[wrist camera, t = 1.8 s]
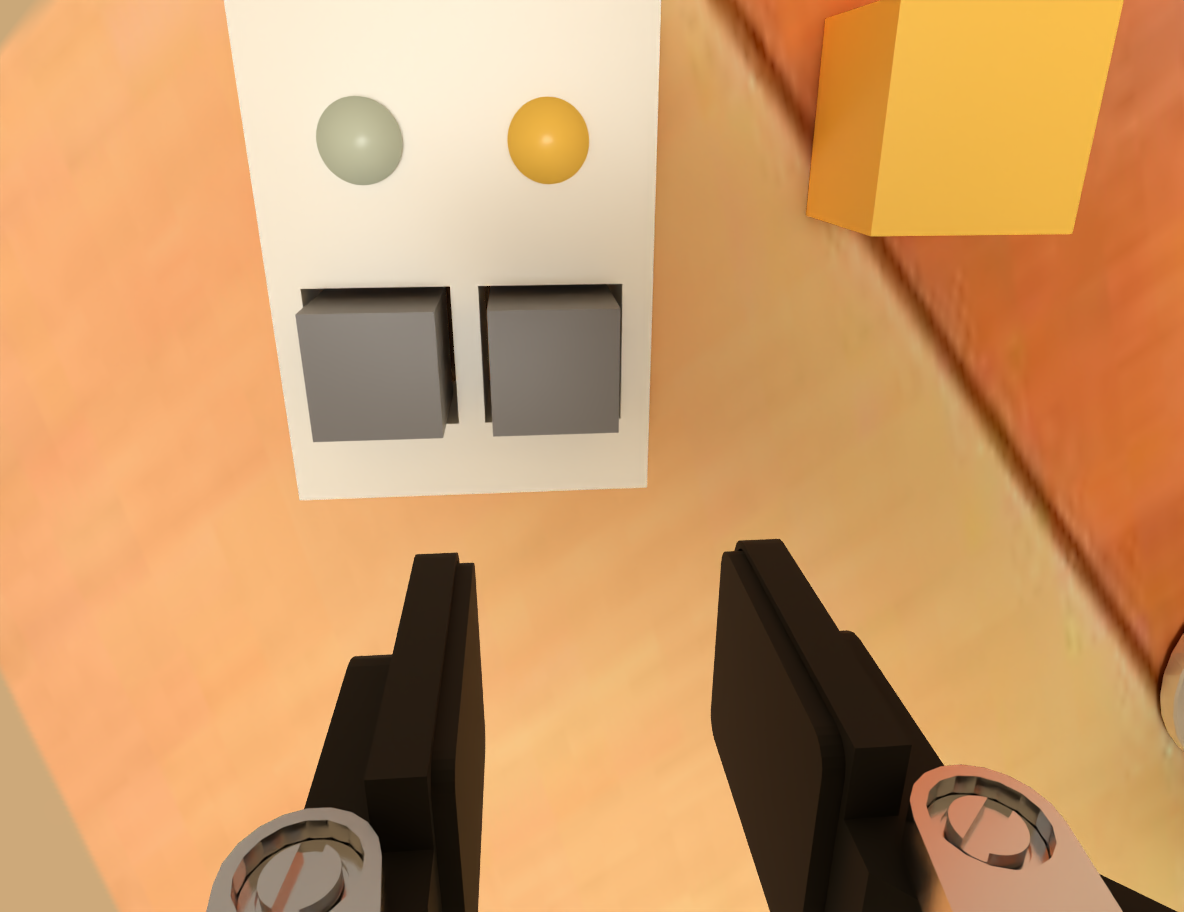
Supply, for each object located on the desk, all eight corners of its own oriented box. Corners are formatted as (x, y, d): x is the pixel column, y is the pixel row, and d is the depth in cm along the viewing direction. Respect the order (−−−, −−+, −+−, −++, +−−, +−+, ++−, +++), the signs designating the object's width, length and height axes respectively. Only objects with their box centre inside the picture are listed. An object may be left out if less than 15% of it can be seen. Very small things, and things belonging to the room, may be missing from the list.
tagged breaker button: (605, 281, 26) (620, 308, 22) (604, 390, 27) (619, 432, 23) (490, 283, 25) (486, 311, 22) (495, 393, 27) (492, 437, 23)
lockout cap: (1006, 20, 26) (1124, -4, 21) (972, 213, 28) (1072, 233, 23) (825, 18, 26) (901, -7, 21) (806, 215, 28) (870, 236, 23)
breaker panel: (637, 5, 25) (663, -20, 21) (628, 437, 31) (648, 491, 26) (270, 0, 24) (216, -26, 20) (329, 447, 30) (297, 504, 25)
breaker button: (445, 284, 25) (434, 312, 22) (453, 394, 27) (443, 438, 23) (327, 286, 25) (295, 314, 21) (341, 397, 26) (312, 442, 23)
